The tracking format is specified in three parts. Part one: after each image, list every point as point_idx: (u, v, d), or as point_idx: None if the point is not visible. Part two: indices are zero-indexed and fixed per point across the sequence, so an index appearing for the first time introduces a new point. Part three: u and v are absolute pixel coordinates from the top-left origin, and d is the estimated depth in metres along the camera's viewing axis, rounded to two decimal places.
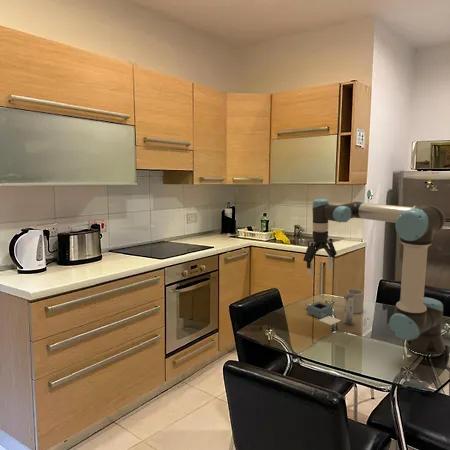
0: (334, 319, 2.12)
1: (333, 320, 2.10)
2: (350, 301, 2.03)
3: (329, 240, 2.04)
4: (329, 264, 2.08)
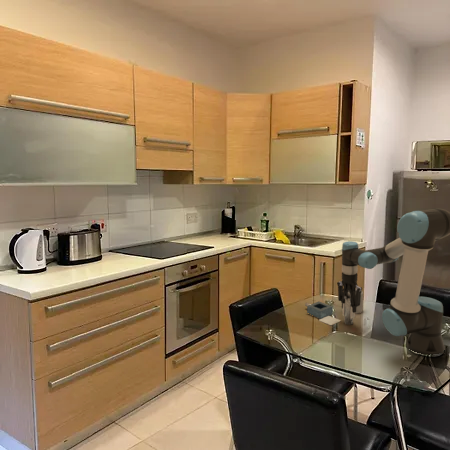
0: (334, 319, 2.12)
1: (333, 320, 2.10)
2: (350, 301, 2.03)
3: None
4: None
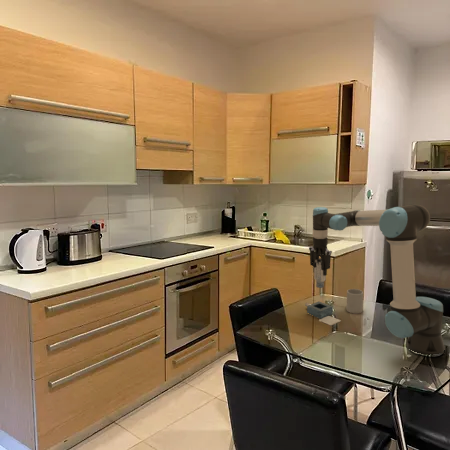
0: (334, 319, 2.12)
1: (333, 320, 2.10)
2: (321, 265, 2.13)
3: None
4: None
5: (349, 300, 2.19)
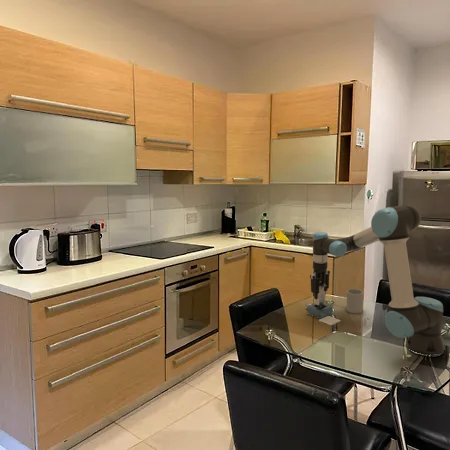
0: (334, 319, 2.12)
1: (333, 320, 2.10)
2: None
3: (327, 272, 2.18)
4: None
5: (349, 300, 2.19)
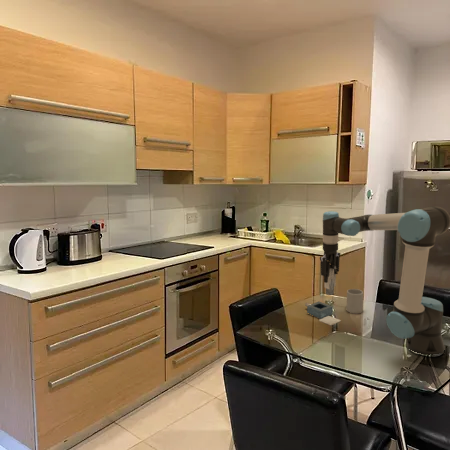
0: (334, 319, 2.12)
1: (333, 320, 2.10)
2: None
3: (337, 254, 2.07)
4: None
5: (349, 300, 2.19)
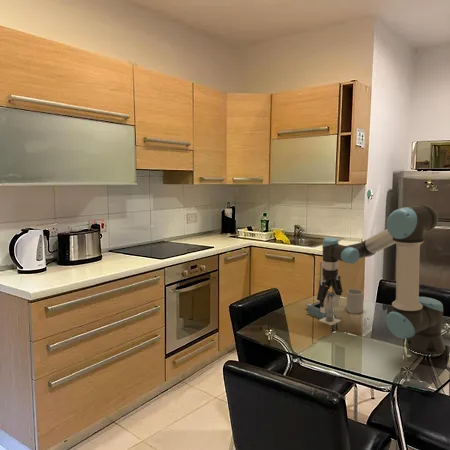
0: (334, 319, 2.12)
1: None
2: None
3: (337, 277, 2.10)
4: (335, 301, 2.13)
5: (349, 300, 2.19)
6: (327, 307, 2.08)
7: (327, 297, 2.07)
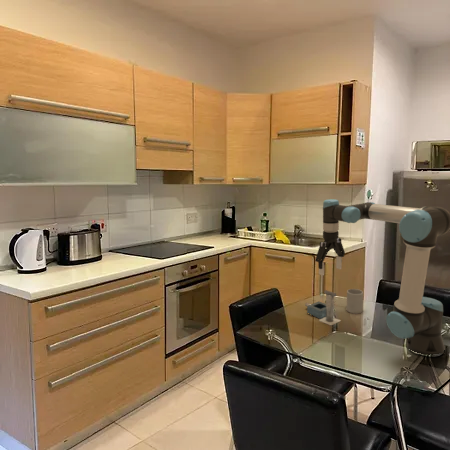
0: (334, 319, 2.12)
1: None
2: None
3: (338, 240, 2.06)
4: (337, 263, 2.09)
5: (349, 300, 2.19)
6: (327, 307, 2.08)
7: (328, 297, 2.07)
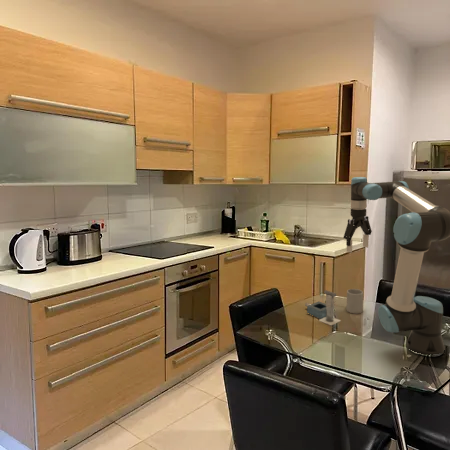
0: (334, 319, 2.12)
1: None
2: None
3: (365, 218, 2.07)
4: (364, 241, 2.11)
5: (349, 300, 2.19)
6: (327, 307, 2.08)
7: (328, 297, 2.07)
